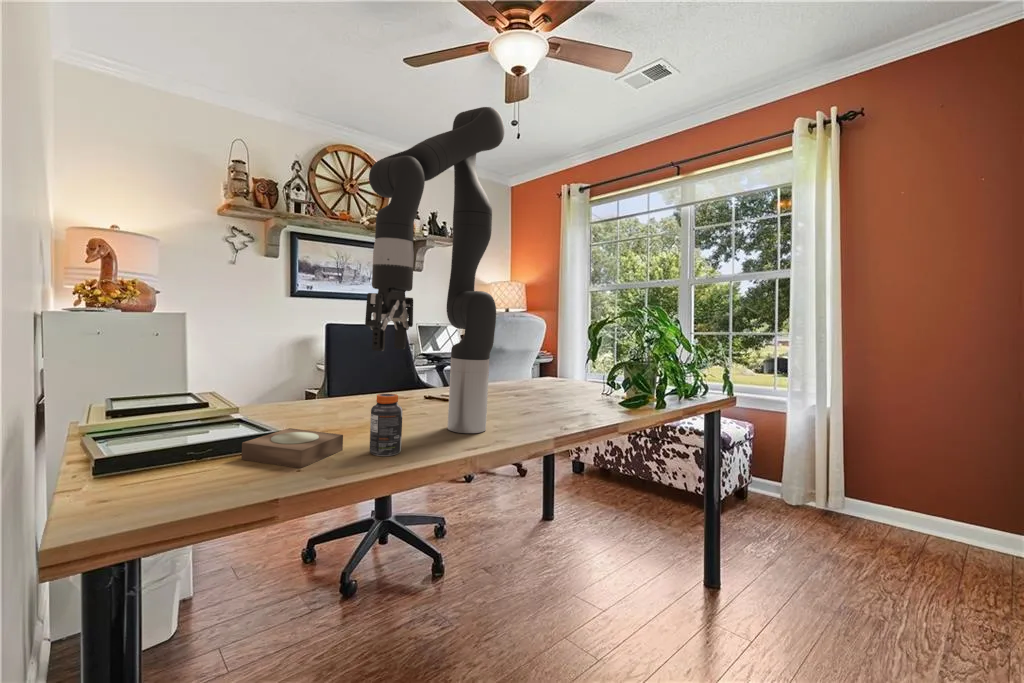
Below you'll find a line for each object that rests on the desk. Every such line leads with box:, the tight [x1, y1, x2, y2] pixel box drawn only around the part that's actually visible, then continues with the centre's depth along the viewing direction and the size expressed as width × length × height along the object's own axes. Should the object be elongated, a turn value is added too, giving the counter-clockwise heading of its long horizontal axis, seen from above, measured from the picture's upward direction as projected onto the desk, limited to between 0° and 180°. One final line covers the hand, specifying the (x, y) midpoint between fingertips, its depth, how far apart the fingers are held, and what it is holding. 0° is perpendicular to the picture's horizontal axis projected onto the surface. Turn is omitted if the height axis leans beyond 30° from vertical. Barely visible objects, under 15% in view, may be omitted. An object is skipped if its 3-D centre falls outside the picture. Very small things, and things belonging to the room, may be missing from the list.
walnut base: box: [241, 428, 344, 469], centre depth 87 cm, size 12×12×3 cm
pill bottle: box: [369, 393, 404, 457], centre depth 91 cm, size 6×6×11 cm
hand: (389, 349), depth 91 cm, fingers open, 8 cm apart
